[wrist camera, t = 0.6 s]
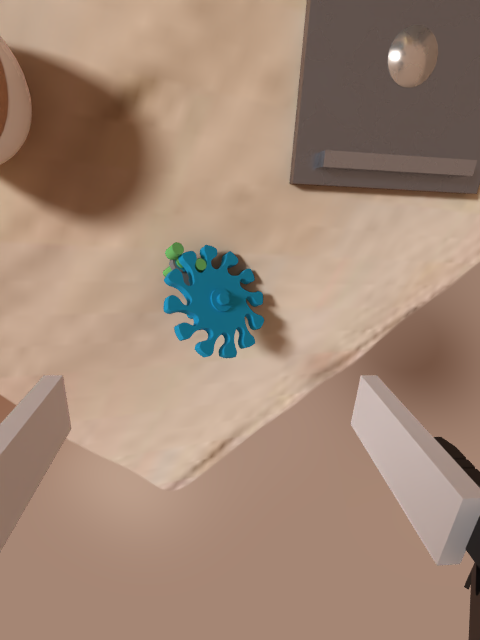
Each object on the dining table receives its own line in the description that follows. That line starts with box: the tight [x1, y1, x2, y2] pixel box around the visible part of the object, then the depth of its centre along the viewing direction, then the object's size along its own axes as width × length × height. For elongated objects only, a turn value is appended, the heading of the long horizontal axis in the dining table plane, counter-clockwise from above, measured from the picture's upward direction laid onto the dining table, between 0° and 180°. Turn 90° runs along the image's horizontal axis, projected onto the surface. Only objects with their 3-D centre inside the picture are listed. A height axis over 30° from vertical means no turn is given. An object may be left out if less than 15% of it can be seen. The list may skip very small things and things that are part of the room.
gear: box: [163, 242, 264, 358], centre depth 30 cm, size 11×6×10 cm
